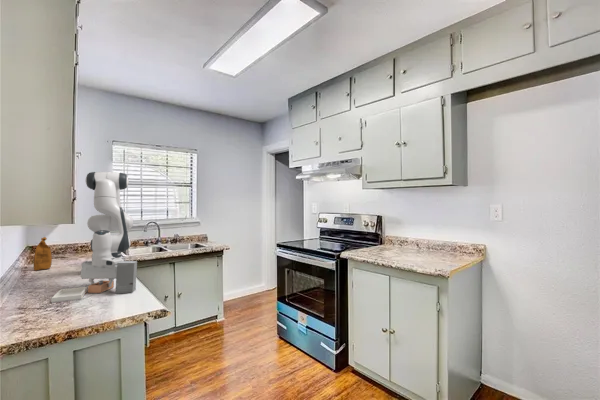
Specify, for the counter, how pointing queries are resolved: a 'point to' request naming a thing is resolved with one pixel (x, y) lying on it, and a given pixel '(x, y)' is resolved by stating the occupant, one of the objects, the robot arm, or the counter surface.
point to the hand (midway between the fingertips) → (101, 286)
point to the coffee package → (42, 256)
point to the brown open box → (99, 287)
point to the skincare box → (126, 277)
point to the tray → (69, 294)
